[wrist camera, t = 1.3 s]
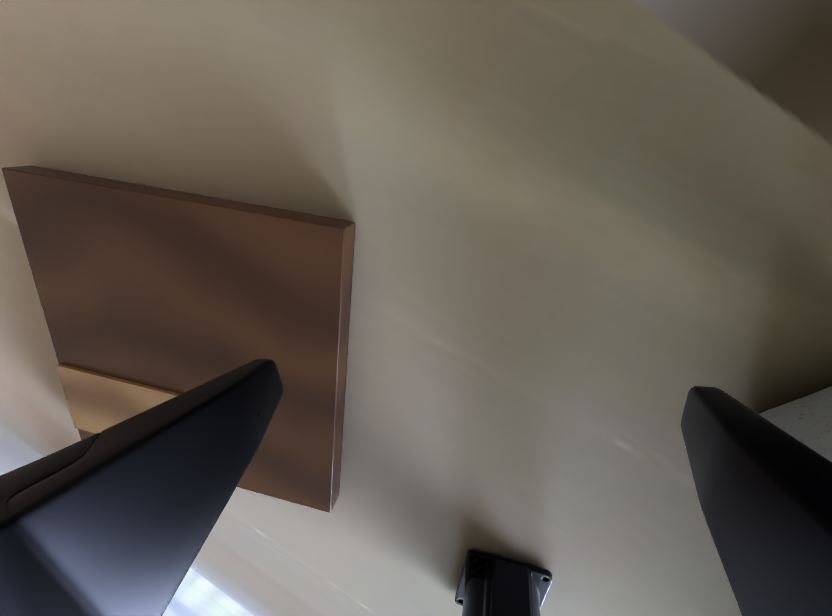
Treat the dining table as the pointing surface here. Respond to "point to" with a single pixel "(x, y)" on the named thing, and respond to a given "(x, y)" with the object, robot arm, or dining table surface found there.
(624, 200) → the dining table surface
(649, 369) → the dining table surface
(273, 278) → the serving board
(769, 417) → the ceramic mug
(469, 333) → the dining table surface
